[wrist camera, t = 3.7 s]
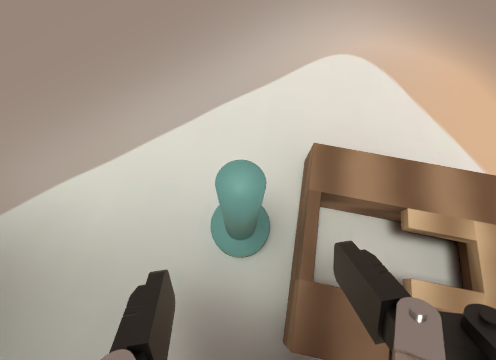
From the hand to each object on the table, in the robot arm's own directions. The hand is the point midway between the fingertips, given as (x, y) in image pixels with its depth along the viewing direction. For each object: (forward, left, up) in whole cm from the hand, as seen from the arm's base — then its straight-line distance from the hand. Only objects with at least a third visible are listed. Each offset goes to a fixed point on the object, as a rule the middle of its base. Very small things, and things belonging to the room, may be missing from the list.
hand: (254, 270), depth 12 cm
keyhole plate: (+12, +4, -10) cm, 16 cm away
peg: (-1, +4, -10) cm, 11 cm away
